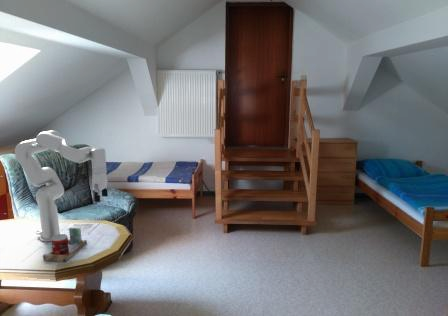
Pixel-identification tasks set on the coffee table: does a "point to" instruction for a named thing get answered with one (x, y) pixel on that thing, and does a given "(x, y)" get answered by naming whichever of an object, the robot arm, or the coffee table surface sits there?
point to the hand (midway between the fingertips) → (101, 199)
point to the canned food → (60, 244)
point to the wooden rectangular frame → (74, 238)
